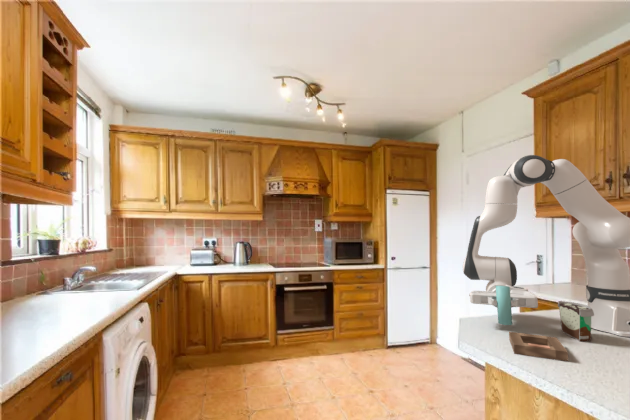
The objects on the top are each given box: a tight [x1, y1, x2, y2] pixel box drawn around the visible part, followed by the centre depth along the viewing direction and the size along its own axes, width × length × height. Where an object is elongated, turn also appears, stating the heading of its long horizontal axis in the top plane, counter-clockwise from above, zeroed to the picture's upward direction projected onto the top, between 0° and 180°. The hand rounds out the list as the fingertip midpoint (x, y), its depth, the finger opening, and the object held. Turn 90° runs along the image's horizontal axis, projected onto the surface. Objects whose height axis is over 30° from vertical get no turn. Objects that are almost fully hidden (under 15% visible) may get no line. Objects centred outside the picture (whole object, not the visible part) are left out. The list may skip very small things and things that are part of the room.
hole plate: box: [508, 331, 569, 362], centre depth 88 cm, size 12×12×3 cm
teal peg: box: [496, 286, 513, 326], centre depth 102 cm, size 4×4×12 cm
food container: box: [557, 300, 594, 342], centre depth 98 cm, size 12×6×10 cm, turn 168°
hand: (504, 303), depth 101 cm, fingers closed on teal peg, 4 cm apart
